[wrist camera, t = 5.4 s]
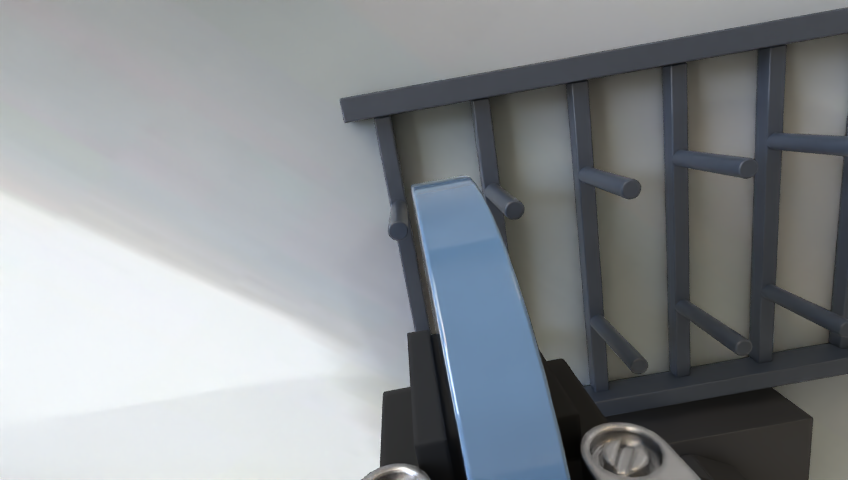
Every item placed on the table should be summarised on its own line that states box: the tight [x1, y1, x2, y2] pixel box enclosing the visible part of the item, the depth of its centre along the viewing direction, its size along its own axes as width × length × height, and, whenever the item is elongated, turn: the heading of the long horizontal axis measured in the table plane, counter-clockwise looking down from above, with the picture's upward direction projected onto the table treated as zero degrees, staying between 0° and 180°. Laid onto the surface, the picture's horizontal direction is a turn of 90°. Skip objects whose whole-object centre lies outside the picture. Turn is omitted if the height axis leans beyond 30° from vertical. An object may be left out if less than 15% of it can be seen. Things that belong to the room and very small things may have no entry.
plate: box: [411, 175, 571, 480], centre depth 10 cm, size 1×10×10 cm, turn 10°
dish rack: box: [340, 7, 848, 417], centre depth 16 cm, size 20×14×4 cm
